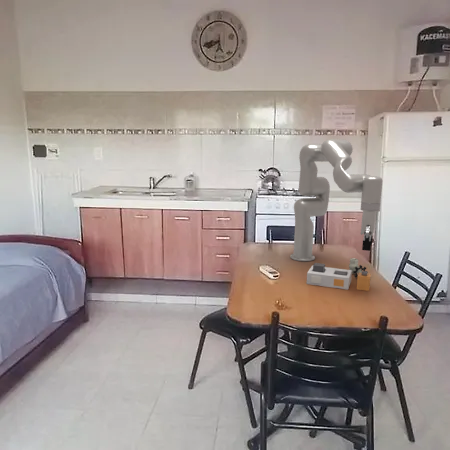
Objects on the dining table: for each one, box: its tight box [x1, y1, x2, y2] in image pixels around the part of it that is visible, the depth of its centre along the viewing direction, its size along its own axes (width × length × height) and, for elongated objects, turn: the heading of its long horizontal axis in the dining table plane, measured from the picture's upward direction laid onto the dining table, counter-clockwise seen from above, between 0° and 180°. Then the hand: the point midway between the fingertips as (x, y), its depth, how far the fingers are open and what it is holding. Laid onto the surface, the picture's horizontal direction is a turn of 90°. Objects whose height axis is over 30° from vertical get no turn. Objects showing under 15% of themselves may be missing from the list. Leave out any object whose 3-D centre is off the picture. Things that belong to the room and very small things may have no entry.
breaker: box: [313, 262, 326, 273], centre depth 191 cm, size 4×4×4 cm
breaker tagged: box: [335, 271, 347, 276], centre depth 188 cm, size 4×4×4 cm
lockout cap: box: [356, 270, 372, 292], centre depth 183 cm, size 5×5×7 cm
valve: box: [348, 257, 368, 279], centre depth 201 cm, size 7×7×12 cm
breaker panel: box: [306, 264, 353, 291], centre depth 190 cm, size 12×18×5 cm
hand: (367, 247), depth 180 cm, fingers open, 9 cm apart
